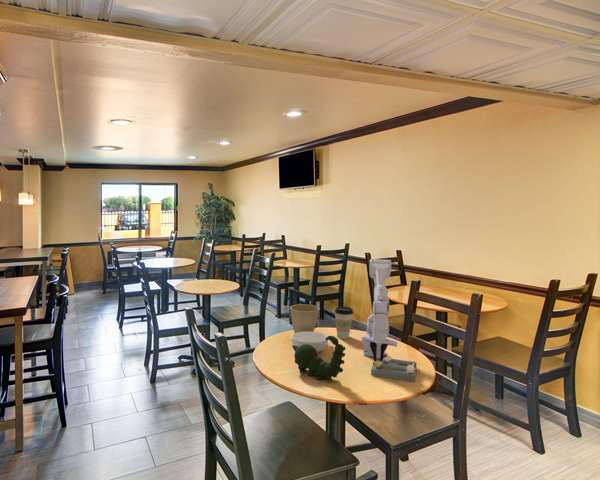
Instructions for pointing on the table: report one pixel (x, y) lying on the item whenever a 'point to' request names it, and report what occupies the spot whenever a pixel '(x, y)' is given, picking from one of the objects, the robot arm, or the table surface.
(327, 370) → the toy figurine
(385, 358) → the steel ball
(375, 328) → the robot arm
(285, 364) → the table surface
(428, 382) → the table surface
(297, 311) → the plant pot
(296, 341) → the cereal bowl
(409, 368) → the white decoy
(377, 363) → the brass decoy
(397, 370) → the grey divided tray
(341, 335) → the coffee cup
